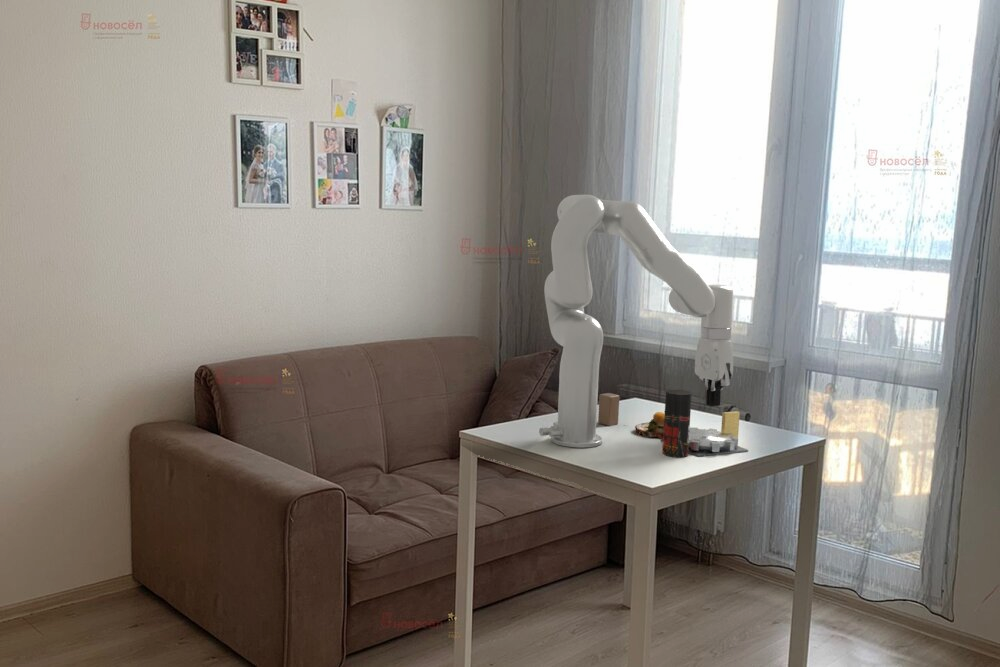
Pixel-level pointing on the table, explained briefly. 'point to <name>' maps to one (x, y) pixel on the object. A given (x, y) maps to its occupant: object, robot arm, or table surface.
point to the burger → (652, 426)
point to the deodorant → (676, 423)
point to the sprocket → (717, 435)
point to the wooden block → (608, 409)
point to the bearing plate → (709, 453)
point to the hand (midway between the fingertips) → (713, 405)
